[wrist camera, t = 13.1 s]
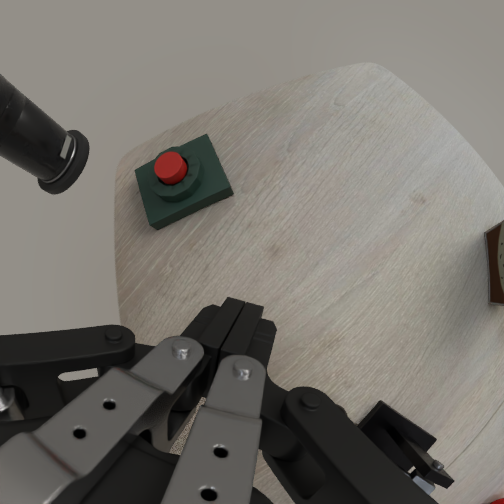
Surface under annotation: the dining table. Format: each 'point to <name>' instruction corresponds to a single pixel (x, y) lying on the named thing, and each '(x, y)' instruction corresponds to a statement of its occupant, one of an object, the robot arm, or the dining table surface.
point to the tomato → (498, 501)
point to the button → (170, 168)
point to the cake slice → (495, 263)
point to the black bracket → (403, 443)
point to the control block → (183, 184)
